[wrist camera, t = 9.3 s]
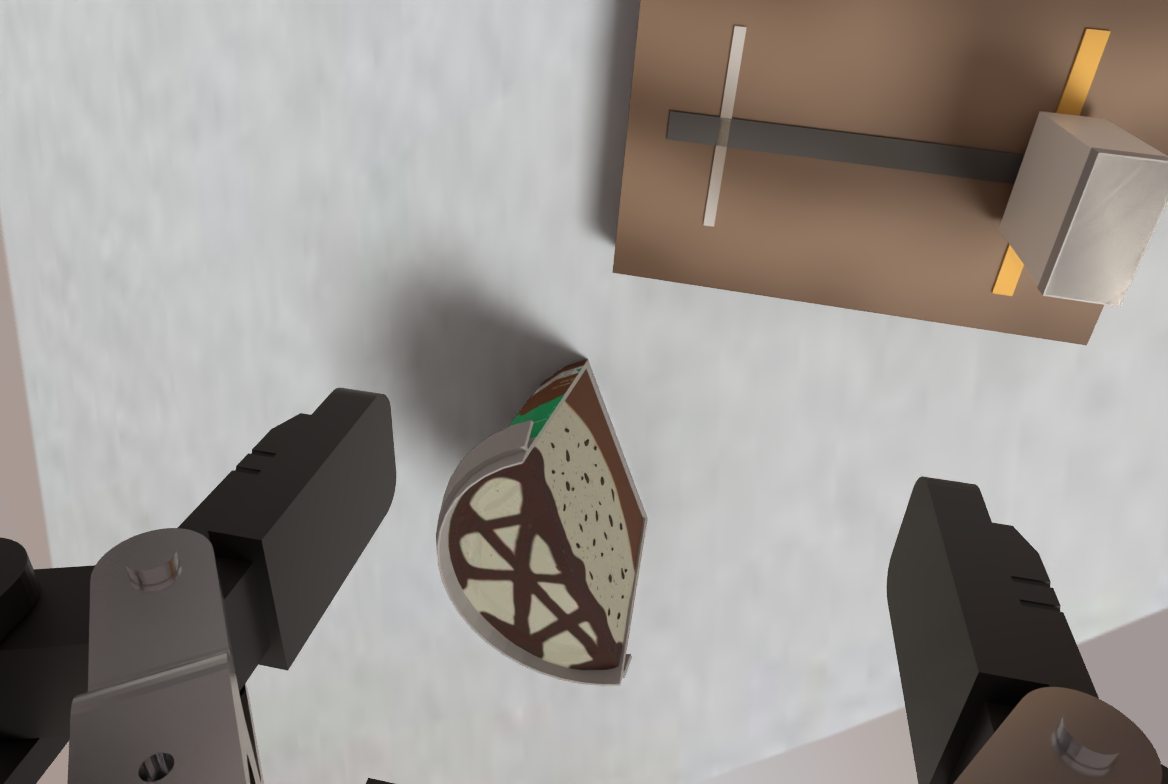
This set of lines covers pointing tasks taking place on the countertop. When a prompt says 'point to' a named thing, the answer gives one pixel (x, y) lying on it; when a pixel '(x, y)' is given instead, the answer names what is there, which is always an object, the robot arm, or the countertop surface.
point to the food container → (548, 536)
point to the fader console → (869, 146)
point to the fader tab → (1085, 207)
